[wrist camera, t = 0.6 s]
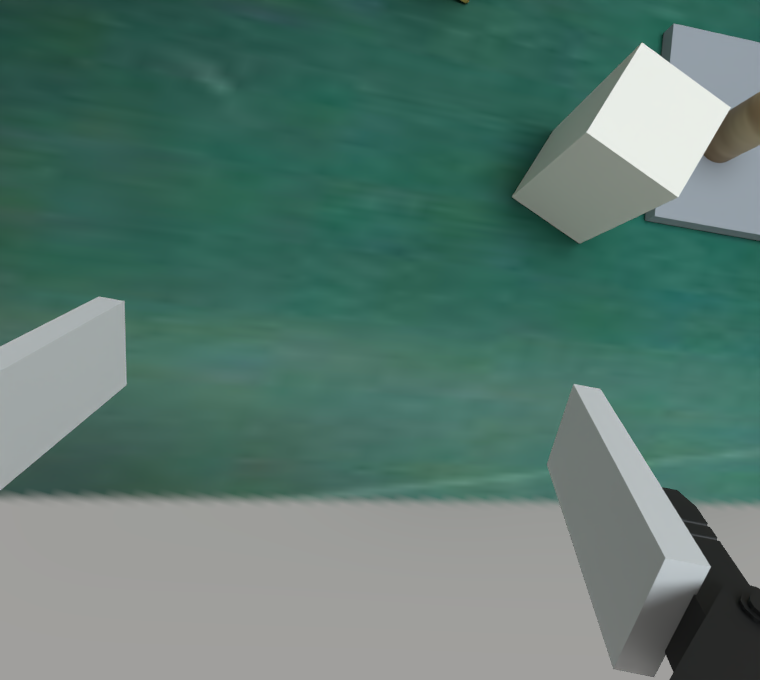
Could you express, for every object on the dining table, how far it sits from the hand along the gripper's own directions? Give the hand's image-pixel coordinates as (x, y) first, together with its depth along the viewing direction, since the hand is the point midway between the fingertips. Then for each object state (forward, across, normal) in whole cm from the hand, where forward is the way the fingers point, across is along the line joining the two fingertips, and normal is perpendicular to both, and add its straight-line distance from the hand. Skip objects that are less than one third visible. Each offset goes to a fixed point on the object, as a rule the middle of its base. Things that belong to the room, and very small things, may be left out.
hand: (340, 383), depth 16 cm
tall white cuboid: (+29, +12, +5) cm, 32 cm away
